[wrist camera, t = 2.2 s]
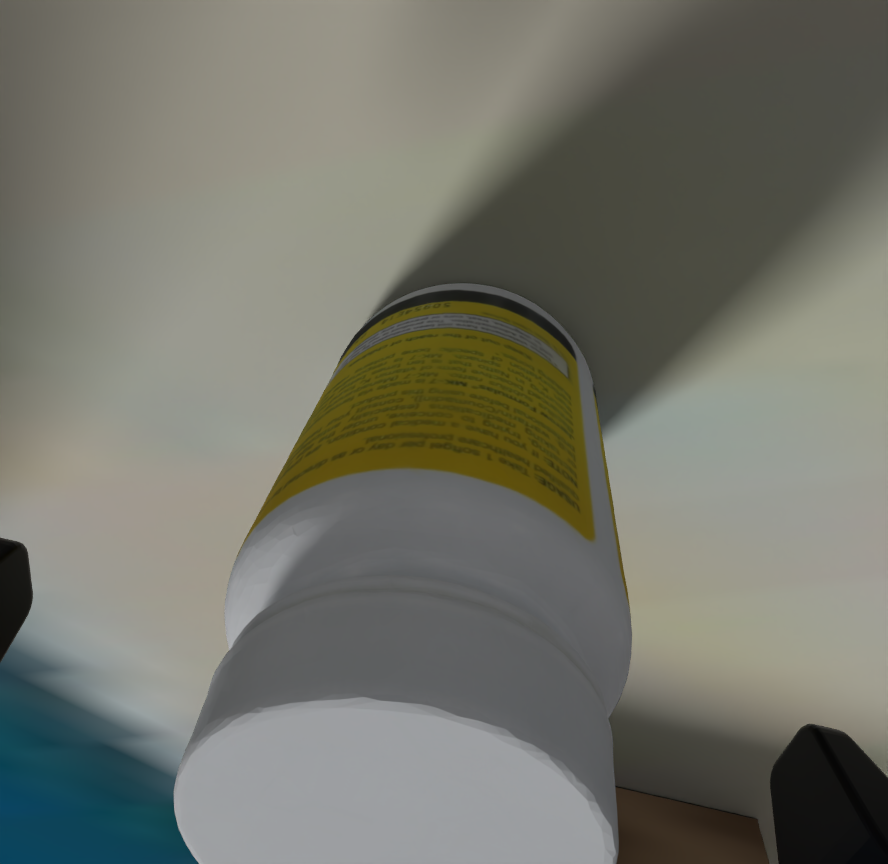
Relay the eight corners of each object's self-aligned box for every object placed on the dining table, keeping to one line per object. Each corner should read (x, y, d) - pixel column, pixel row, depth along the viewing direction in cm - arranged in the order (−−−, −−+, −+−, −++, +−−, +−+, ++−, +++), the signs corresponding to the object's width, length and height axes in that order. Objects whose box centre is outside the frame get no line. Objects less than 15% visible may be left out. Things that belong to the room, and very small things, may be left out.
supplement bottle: (292, 344, 13) (8, 739, 6) (527, 229, 12) (516, 575, 5) (418, 534, 15) (315, 1006, 8) (633, 456, 14) (745, 950, 7)
